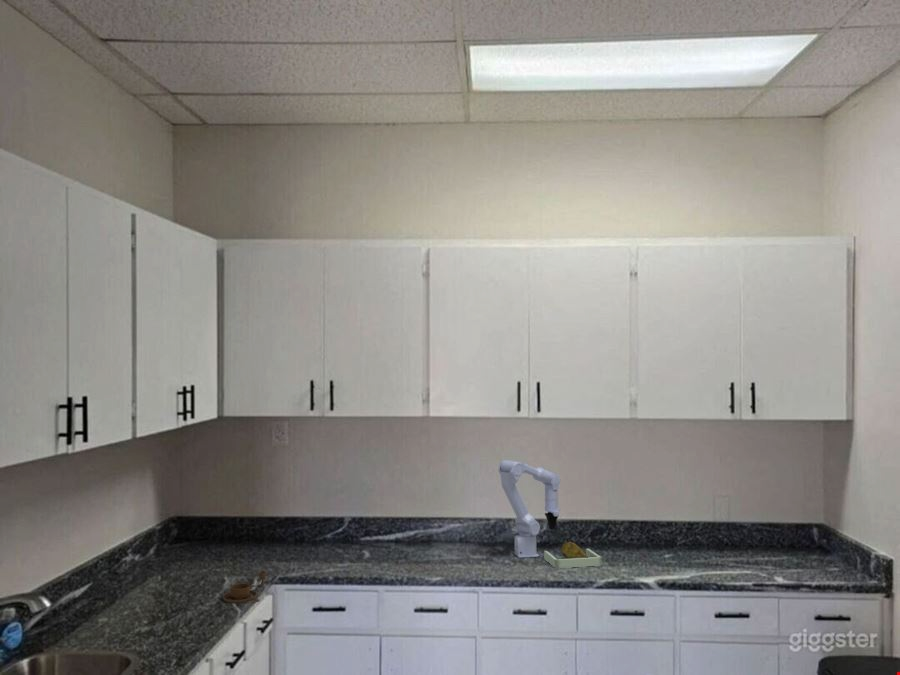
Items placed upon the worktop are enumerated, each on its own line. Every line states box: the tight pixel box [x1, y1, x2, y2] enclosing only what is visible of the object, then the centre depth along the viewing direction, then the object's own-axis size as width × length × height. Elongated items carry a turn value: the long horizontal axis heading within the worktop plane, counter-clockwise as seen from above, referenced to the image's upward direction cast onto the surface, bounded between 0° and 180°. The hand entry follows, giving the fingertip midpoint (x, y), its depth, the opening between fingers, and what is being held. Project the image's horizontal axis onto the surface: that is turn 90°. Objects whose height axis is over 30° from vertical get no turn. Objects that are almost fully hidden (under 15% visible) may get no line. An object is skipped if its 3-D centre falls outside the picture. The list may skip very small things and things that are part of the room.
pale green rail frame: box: [543, 548, 603, 570], centre depth 297 cm, size 20×15×4 cm
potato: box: [560, 541, 587, 559], centre depth 297 cm, size 8×13×8 cm, turn 15°
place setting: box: [222, 570, 267, 605], centre depth 256 cm, size 18×20×6 cm
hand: (551, 529), depth 318 cm, fingers closed
